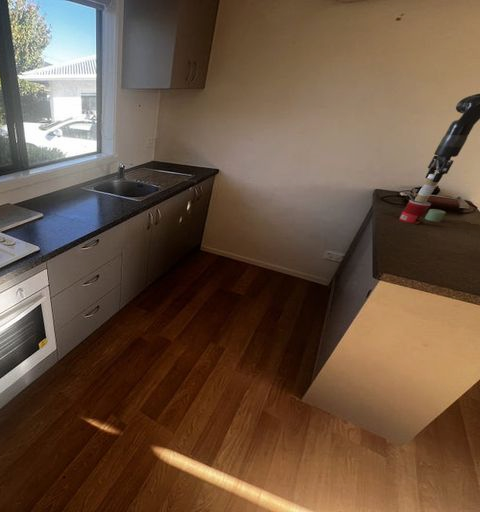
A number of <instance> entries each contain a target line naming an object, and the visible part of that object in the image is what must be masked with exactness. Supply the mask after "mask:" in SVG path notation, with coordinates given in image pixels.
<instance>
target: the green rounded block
mask: <svg viewBox="0 0 480 512" xmlns="http://www.w3.org/2000/svg"><path fill="white" fill-rule="evenodd" d="M446 213H447V212H446V211H445V210H441V209H436V208H429V209H428V210H427V212H426V214H425V216H424V219H425V220H427V221H430V222H434V223H435V222H437V223H441V222H442V220H443V219H444V216H445V215H446Z"/></svg>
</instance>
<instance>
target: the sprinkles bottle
mask: <svg viewBox="0 0 480 512" xmlns="http://www.w3.org/2000/svg"><path fill="white" fill-rule="evenodd" d="M435 175H436V173H434V174H429V176H428V177H427V178H426V180H425V181H424V183H423V184H422V186H421V188H420V189H419V191H418V193H417V195H416V197H415V199H414V200H415V201H417V202H423V203H425V202H428V200H429V199H430V197H431V195H432V193H434V191H435V189H436V187H437V186H438V184H439V182H432V180H433V178H434V177H435ZM442 178H443V176H442V177H441V179H440V181H441V180H442Z"/></svg>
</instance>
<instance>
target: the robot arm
mask: <svg viewBox="0 0 480 512" xmlns="http://www.w3.org/2000/svg"><path fill="white" fill-rule="evenodd" d="M455 111H456V112H458V113H459V114H462V115H461V116H460V117H459V119H456V120H453V121H452V122H451V123H450V125H449V126H448V129H447V131H446V133H445V134H444V135H443V137H442V138H441V140H440V142H439V144H438V145H437V147H436V149H435V151H434V153H433V154H434V156H433V157H432V159H431V161H430V162H429V164H428V166H427V169H428V172H427V173H426V175H425V177H424V178H425V179H427V177H428V176H429V174H436V175H435V177H434V178H433V180H432V182H438V183H440V181H441V180H442V178H443V176H444V175H447V174H448V173H449V171H450V169H451V167H452V165H453V164H454V160H453V159H452V158H455V157H458V155H459V154H460V152H461V151H462V149H463V147H464V145H465V144H466V142H467V140H468V137H469V135H470V134H471V131H472V130H473V128H474V126H475V125H476V124H477V123H478V122H479V121H480V93H476V94H472V95H468V96H466V97H464V98H462V99H461V100H460V101H458V102H457V104H456V106H455ZM441 177H442V178H441ZM440 179H441V180H440Z"/></svg>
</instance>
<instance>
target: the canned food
mask: <svg viewBox="0 0 480 512" xmlns="http://www.w3.org/2000/svg"><path fill="white" fill-rule="evenodd" d="M431 205H432V203H431V202H429V201H427V202H425V203H423V202H417V201H415V199H409V200H408V202H407V203H406V206H405V207H404V209H403V211H402V212H401V214H400V216H399V217H398V220H399V221H400V222H403V223H406V224H409V225H411V224H412V225H419V224H420V223H421V222H422V220H423V219H424V218H425V216H426V215H427V213H428V211H429V210H430V207H431Z"/></svg>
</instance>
